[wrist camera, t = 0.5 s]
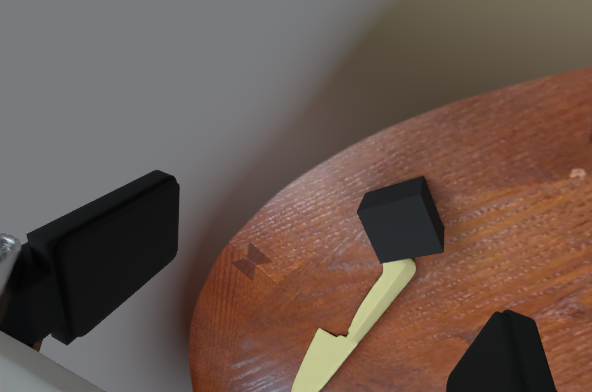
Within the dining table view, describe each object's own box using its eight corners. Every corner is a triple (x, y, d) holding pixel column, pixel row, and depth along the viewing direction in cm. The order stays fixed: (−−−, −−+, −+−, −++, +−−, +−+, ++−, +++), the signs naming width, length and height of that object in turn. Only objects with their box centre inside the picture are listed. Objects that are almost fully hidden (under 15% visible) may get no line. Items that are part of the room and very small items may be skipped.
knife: (269, 407, 49) (296, 429, 48) (373, 239, 31) (420, 269, 29) (274, 399, 50) (300, 421, 49) (377, 233, 32) (423, 261, 30)
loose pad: (365, 193, 30) (356, 212, 27) (423, 175, 27) (420, 194, 24) (386, 241, 31) (380, 264, 28) (444, 228, 29) (443, 252, 26)
